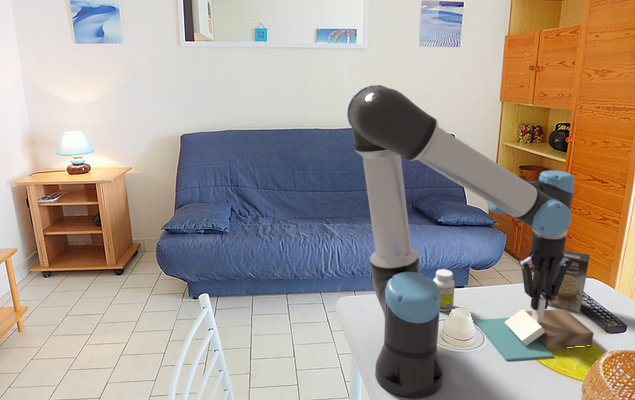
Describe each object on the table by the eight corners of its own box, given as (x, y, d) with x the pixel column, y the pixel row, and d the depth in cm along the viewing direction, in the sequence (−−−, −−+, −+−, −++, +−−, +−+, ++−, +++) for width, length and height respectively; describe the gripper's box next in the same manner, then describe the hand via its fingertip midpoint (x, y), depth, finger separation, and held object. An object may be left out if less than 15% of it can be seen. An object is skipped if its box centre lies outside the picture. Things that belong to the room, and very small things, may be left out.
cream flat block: (525, 346, 119) (521, 340, 118) (508, 327, 127) (504, 322, 127) (545, 332, 118) (541, 326, 118) (526, 313, 127) (522, 308, 126)
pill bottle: (435, 299, 143) (437, 266, 140) (455, 305, 140) (458, 271, 137) (428, 308, 138) (430, 274, 135) (448, 314, 135) (451, 279, 132)
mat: (506, 360, 114) (506, 358, 114) (474, 321, 131) (474, 319, 131) (553, 357, 115) (553, 355, 115) (515, 318, 132) (515, 317, 132)
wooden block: (546, 350, 118) (548, 335, 117) (521, 324, 129) (522, 311, 128) (591, 346, 119) (593, 332, 118) (562, 321, 131) (564, 308, 129)
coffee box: (544, 305, 140) (552, 254, 135) (547, 296, 145) (554, 247, 140) (580, 313, 135) (588, 261, 130) (581, 304, 140) (590, 253, 135)
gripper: (532, 240, 111) (520, 329, 118) (584, 238, 113) (569, 326, 119) (516, 230, 119) (505, 313, 125) (565, 228, 120) (552, 311, 127)
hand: (537, 319), depth 122 cm, fingers closed
